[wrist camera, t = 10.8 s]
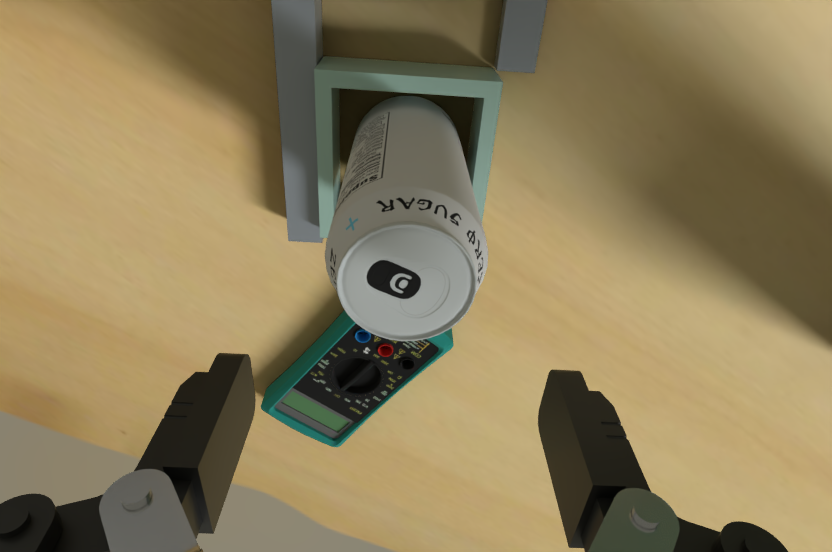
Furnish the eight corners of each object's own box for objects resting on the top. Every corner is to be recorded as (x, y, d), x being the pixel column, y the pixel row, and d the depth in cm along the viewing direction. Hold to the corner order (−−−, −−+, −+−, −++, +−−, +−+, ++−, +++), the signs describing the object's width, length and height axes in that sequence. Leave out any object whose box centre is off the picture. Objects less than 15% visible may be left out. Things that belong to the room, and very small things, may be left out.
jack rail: (601, -334, 20) (634, -381, 17) (501, 233, 34) (510, 261, 31) (258, -370, 20) (232, -426, 17) (295, 222, 33) (284, 250, 30)
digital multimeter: (459, 320, 38) (462, 346, 36) (339, 428, 44) (334, 457, 42) (380, 264, 36) (377, 288, 33) (263, 387, 41) (254, 415, 39)
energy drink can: (428, 207, 33) (441, 374, 20) (339, 166, 31) (292, 318, 19) (477, 122, 30) (529, 253, 17) (382, 71, 28) (362, 175, 16)
